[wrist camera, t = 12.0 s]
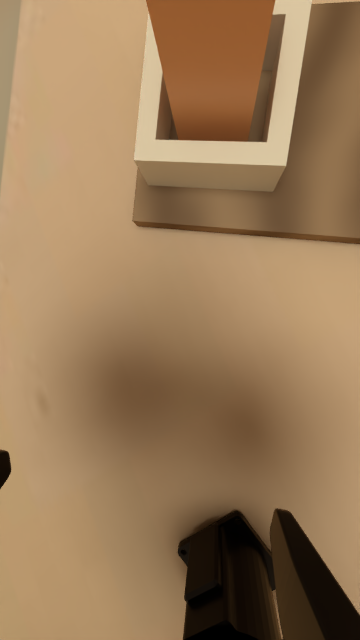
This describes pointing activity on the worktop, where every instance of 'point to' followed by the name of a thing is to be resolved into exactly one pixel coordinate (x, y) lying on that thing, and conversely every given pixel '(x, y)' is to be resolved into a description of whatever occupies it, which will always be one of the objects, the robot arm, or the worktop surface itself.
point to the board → (290, 152)
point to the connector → (211, 63)
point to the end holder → (225, 156)
